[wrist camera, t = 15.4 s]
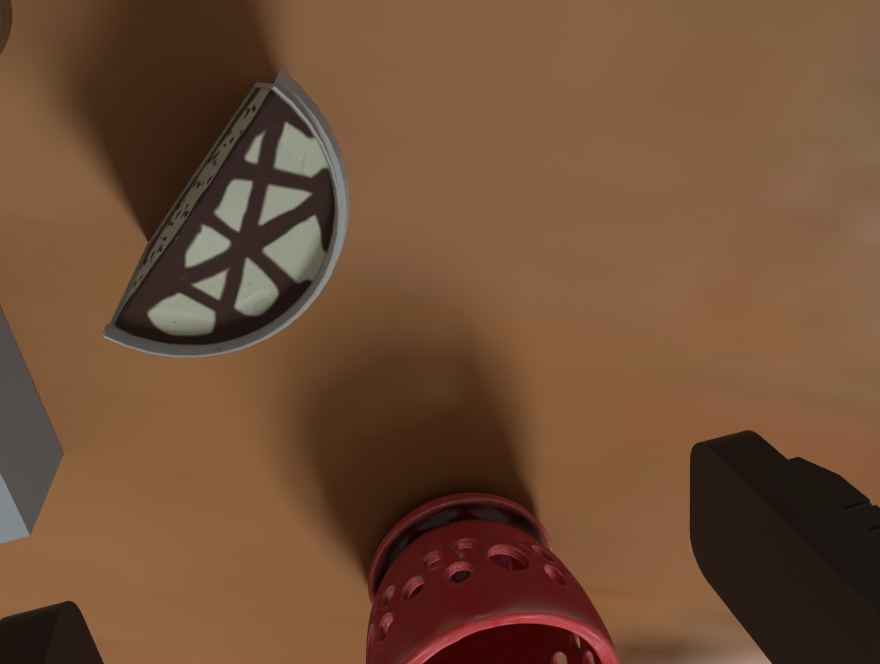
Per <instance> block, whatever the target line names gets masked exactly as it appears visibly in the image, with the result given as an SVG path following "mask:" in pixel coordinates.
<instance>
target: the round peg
mask: <svg viewBox="0 0 880 664" xmlns="http://www.w3.org/2000/svg"><path fill="white" fill-rule="evenodd" d="M11 24H12V5H11V0H0V54H1V52H2V51H3V49H4V48H5V45H6V43H7V41H8V38H9V35H10V31H11Z"/></svg>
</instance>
